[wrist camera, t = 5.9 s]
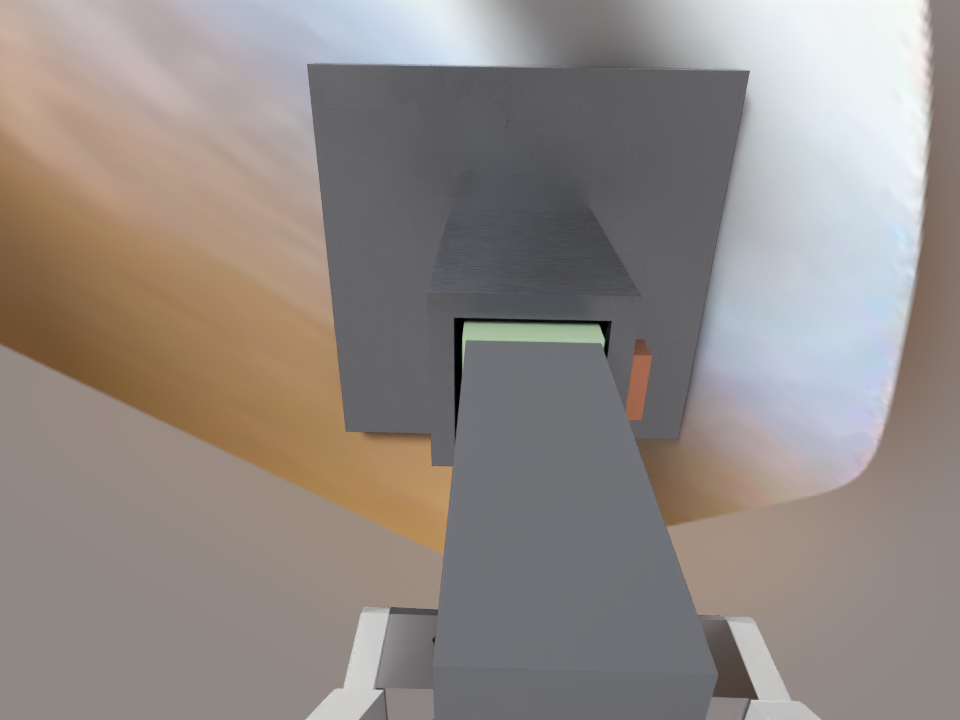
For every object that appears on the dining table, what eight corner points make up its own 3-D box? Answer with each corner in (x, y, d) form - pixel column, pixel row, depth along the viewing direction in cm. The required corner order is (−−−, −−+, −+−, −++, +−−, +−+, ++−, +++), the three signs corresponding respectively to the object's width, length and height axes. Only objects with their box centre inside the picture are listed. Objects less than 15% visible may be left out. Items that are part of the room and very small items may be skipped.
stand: (351, 416, 35) (287, 582, 24) (316, 63, 26) (194, 74, 16) (670, 424, 34) (750, 594, 24) (736, 69, 26) (903, 85, 15)
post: (468, 375, 25) (432, 823, 10) (469, 276, 23) (425, 660, 9) (572, 377, 25) (678, 831, 10) (582, 279, 23) (726, 669, 8)
